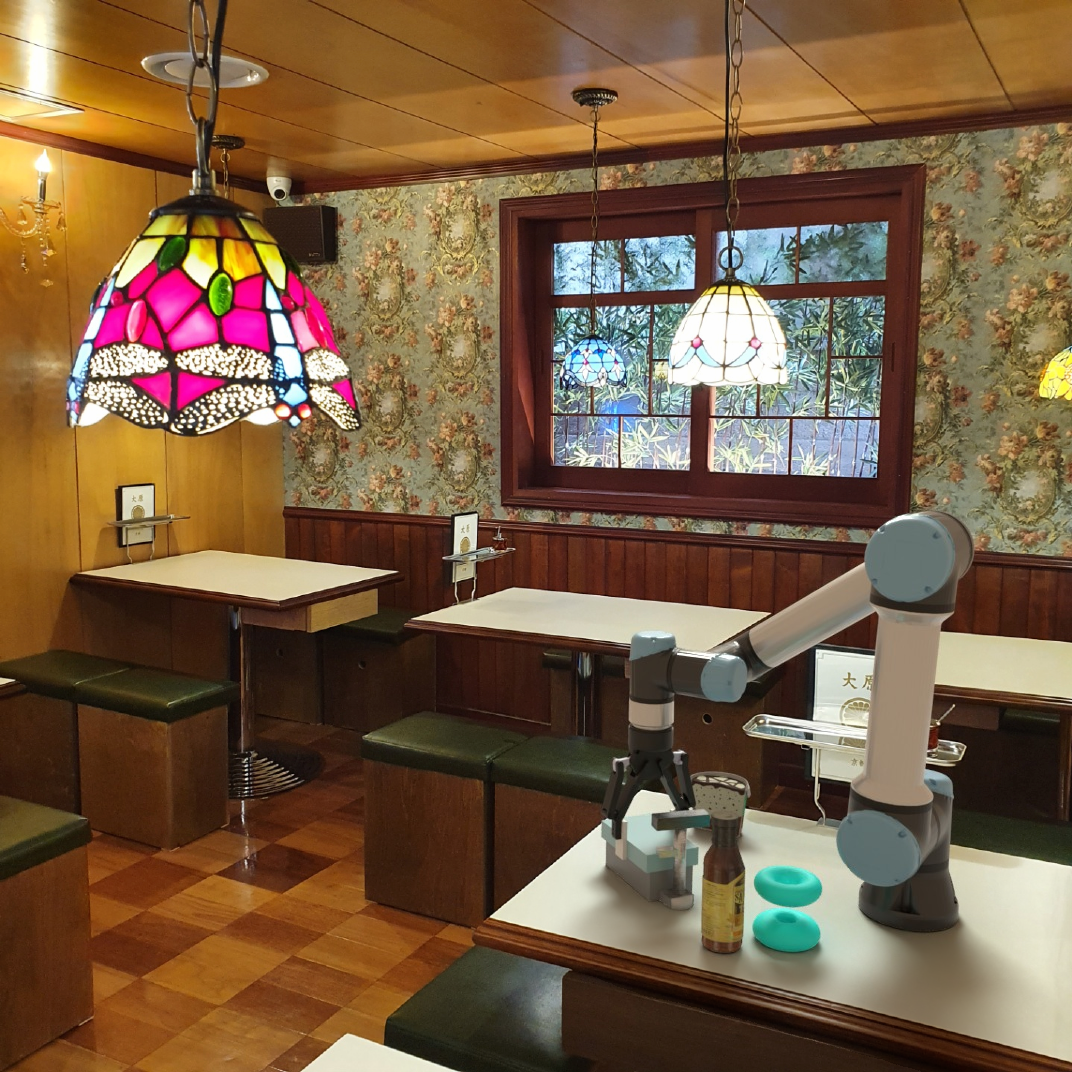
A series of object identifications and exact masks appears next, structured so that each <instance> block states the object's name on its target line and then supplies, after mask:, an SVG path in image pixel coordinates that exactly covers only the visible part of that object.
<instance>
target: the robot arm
mask: <svg viewBox="0 0 1072 1072" xmlns="http://www.w3.org/2000/svg"><path fill="white" fill-rule="evenodd" d="M974 556H975V541H974V537H973V535H972V533H971V531H970V529H969V527H968V526H967V525H966V524H965V522H963V520H961V519H960V518H958V517H957V516H956V515H953V514H952V513H950V512H946V511H942V510H938V509H937V510H924V511H919V512H917V513H906V514H901V515H898V516H896V517H894V518H891V519H890V520H888V521H886V522H885V523H884V524H883V525H881V526H880V527H878V529H877V530H876V531H875V532H873V534H872V536H871V537H870V539H869V541H868V543H867V544H866V547H865V552H864V562H863V563H861V564H859V565H857V566H856V567H854V568H852V569H850V570H849V571H847V572H845V573H844V574H842V575H839V576H838V577H837V578H835V579H833V580H832V581H830V582H828V583H826V584H825V585H823V586H822V587H820V588H819V589H817V590H814V591H813V592H811V593H810V594H808V595H806V596H805V597H803V598H802V599H799V600H798V601H796V602H795V603H793V604H790V605H789V606H788V607H786V608H784V609H783V610H781V611H779V612H778V613H776V614H774V615H773V616H771V617H769V618H768V619H766V620H764V621H762V622H761V623H759V624H757V625H755V626H754V627H752V628H751V629H748V630H747V631H745V632H743V633H741V634H740V635H738V636H736V637H735V638H733V639H732V640H730V641H727V642H725V643H723V644H720V645H718V646H715V647H711V648H710V649H707V650H697V649H695V650H694V649H686V648H681V647H677V640H676V637H675V635H674V634H673V633H670V632H667V631H660V630H643V631H639V632H636V633H635V634H634V635H633V636H632V637H631V639H630V651H629V658H628V661H629V694H628V695H629V697H628V698H629V699H628V700H629V701H628V721H629V722H630V723H629V725H628V731H627V732H628V736H627V739H628V740H627V745H628V752H627V754H626V756H625V757H622V758H617V757H612V758H611V759H610V771H611V772H610V774H609V775H610V776H609V779H608V783H607V787H606V790H605V794H604V798H603V802H602V805H601V810H600V814H601V815H602V816H604V817H605V818H606V819H607V820H608V819H609V820H612V832H611V834H612V837H613V838H614V839H616V849H615V854H616V855H617V856H618V857H620V858H621V859H622V860H626V859H627V821H626V820H624V817H626V814H627V812H628V810H629V808H630V807H631V804H632V803H633V801H634V798H635V796H636V794H637V792H638V790H639V788H640V787H641V786H643V784H644V781H650V780H653V779H656V780H660V782H661V783H662V786H663V787H664V789H665V791H666V794H667V796H668V797H669V799H670V801H671V803H672V805H673V807H674V808H671V809H669V812H675V811H687V810H690V809H692V808H694V807H695V806H696V800H695V796H694V791H693V787H692V782H691V778H690V776H691V774H690V770H689V769H690V768H689V762H690V761H689V759H690V755H689V754H688V752H686V751H684V750H681V749H677V750H676V751H673V747H674V726H673V723H674V722H675V721H674V719H675V695H683V696H686V697H687V696H688V697H694V698H699V699H705V700H710V701H713V702H718V703H719V702H725V703H726V702H727V703H735V702H738V700H740V699H741V697H742V695H743V694H744V693H745V691H746V687H747V683H750V682H753V681H755V680H757V679H759V678H760V677H762V676H763V675H764V674H766V673H767V672H769V671H771V670H772V669H774V668H775V667H776V668H777V667H778V666H780V665H782V664H783V663H785V662H787V661H789V660H791V659H792V658H794V657H796V656H798V655H799V654H800V653H803V652H805V651H806V650H808V649H810V648H812V647H814V646H816V645H817V644H819V643H821V642H823V641H825V640H826V639H828V638H830V637H832V636H833V635H836V634H837V633H839V632H842V631H843V630H844V629H846V628H848V627H850V626H852V625H854V624H856V623H857V622H859V621H861V620H863V619H864V618H866V617H868V616H870V615H871V614H874V613H875V612H876V613H877V615H878V620H877V621H878V622H877V623H878V624H877V629H876V630H877V631H876V638H875V639H876V641H875V649H874V650H875V651H874V660H873V669H872V681H871V690H870V697H869V698H870V699H869V709H868V710H869V711H868V720H867V727H866V739H865V746H864V757H863V767H862V772H861V773H860V774H858V775H856V776H855V777H854V778H853V779H851V783H850V789H849V799H848V805H847V806H848V808H847V815H846V816H845V817H843V818H842V820H841V822H840V823H839V827H838V829H837V832H836V836H835V837H836V841H835V842H836V847H837V851H838V855H839V857H840V859H841V861H842V863H843V864H844V865H845V866H846V867H847V869H848V870H849V871H850V872H851V873H852V874H853V875H854V876H855V877H857V878H858V879H860V880H862V881H863V882H862V883H861V885H860V887H859V892H858V902H857V904H858V907H859V909H860V911H861V912H862V913H863V914H865V915H866V916H867V917H868V918H869V919H871V920H874V921H875V922H877V923H880V924H883V925H885V926H888V927H891V928H896V929H899V930H905V931H911V932H924V933H925V932H939V931H944V930H947V929H949V928H952V927H953V926H954V925H956V923H957V922H958V920H959V910H960V909H959V908H960V907H959V906H960V905H959V901H958V897H957V896H956V891H955V887H954V883H953V879H952V876H951V873H950V854H951V853H950V852H951V851H950V850H951V849H950V848H951V831H952V815H953V813H952V812H953V800H954V797H955V796H954V793H953V792H954V791H953V789H954V788H953V786H954V785H953V782H952V780H951V779H950V777H948V776H947V775H946V774H944V773H941V772H938V771H935V770H930V769H926V764H927V756H928V748H929V747H928V746H929V738H930V730H931V719H932V711H933V701H934V692H935V685H936V684H935V682H936V674H937V664H938V655H939V649H940V647H939V646H940V638H941V630H942V629H941V628H942V624H943V622H944V621H946V620H947V619H948V618H949V617H951V616H952V615H953V614H954V613H955V608H956V597H957V589H958V583H959V580H961V578H963V577H964V576H965V574H967V572H969V569H970V567H971V566H972V563H973V560H974ZM672 762H673V763H674V766H675V771H676V776H677V780H678V785H679V788H680V789H678V788H677V785H676V783H675V781H674V780H673V776H672V773H671V771H670V769H669V767H670V765H671V764H672ZM628 766H629V771H628V770H627V767H628ZM627 771H628V774H627V775H626V780H625V783H624V785H623V782H624V777H625V772H627ZM622 785H623V787H622ZM679 790H680V792H679Z"/></svg>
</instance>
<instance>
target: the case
mask: <svg viewBox="0 0 1072 1072" xmlns="http://www.w3.org/2000/svg"><path fill="white" fill-rule="evenodd" d="M615 849H616V848H614V847H613V846H612V845H611V844H609V843H608V842H607V841H606V840H605V866H607V867H608V868H609V869H610V870H611V871H613V872H614V873H615V874H616V875H617V874H618V875H617V876H618V877H619V878H620V879H623V881H624V882H626V883H627V884H628V885H629V886H630V887H632V888H633V890H635V891H637V892H638V893H639V894H640V895H641V896H642V897H643V898H645V900H646V901H648V902H655V901H660V902H661V903H662V904H663V905H665V907H668V909H672V910H675V911H683V910H685V911H686V910H689V909H690V908H692V907H693V905H694V904H695V902H694V901H695V898H694V897H695V894H693V877H694V876H693V874H694V873H693V872H694V865H693V866H687V867H686V879H685V894H682V895H678V894H674V893H673V869H669V870H663V871H657V872H651V873H646V872H644V871H643V870H642V869H641V868H639V867H638V866H637V865H636V864H634V863H633V862H632V861H631V860H629V859H628V858H627V859H626V860H622V859H621V858H620V857H618V856H617V855H616V854H615Z"/></svg>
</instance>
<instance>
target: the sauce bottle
mask: <svg viewBox="0 0 1072 1072" xmlns="http://www.w3.org/2000/svg"><path fill="white" fill-rule="evenodd" d="M711 824H712V831H711V841H710V842H711V845H710V846H709V848H708V849H707V851H706V852H705V855H704V856H703V863H702V865H703V870H702V878H701V879H702V880H701V883H702V884H701V885H702V886H701V919H700V923H701V924H700V925H701V927H700V932H701V943H702V945H703V947H705V948H706V949H708V950H710V951H712V952H714V953H721V954H729V953H734V952H737V951H739V950H740V949H741V948H742V945H743V938H744V930H745V929H744V927H745V921H744V920H745V898H746V897H745V894H746V893H745V891H746V886H745V885H746V866H745V864H744V861H743V860H744V859H743V858H742V855H741V850H740V848H739V845H738V842H739V840H738V837H737V833H738V831H737V827H738V825H739V816H738V815H737V814H736V813H733V812H729V811H717V812H713V813H712V815H711Z"/></svg>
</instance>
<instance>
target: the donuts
mask: <svg viewBox="0 0 1072 1072" xmlns="http://www.w3.org/2000/svg"><path fill="white" fill-rule="evenodd" d="M753 885H754V890H755V891H756V893H757V895H758V896H760V897H761V898H762V899H764V900H765V901H767V902H768V903H770V904H772V905H776V906H780V907H778V908H777V907H775V908H770V909H767V910H764V911H762V912H760V913H758V915H756V917H755V918H754V920H753V923H752V925H751V926H752V928H751V929H752V933H753V935H754V937H755V938H756V939H757V940H758V941H759V942H760V943H761V944H763V945H764V946H765V947H768V948H770V949H772V950H776V951H780V952H787V953H789V952H790V953H796V952H797V953H799V952H805V951H808V950H810V949H813V948H814V947H815V946H816V945H817V944H818V943H819V942H820V939H821V929H820V926H819V925H818V923H817V921H815V919H813V918H812V917H811V916H810V915H808V914H806V913H805V912H802V911H799V910H797V909H792V908H803V907H806V906H810V905H812V904H814V903H815V902H817V901H818V900H819V899H820V897H822V893H823V885H822V882H821V880H820V879H819V877H817V875H816V874H814V873H813V872H811V871H809V870H807V869H804V868H801V867H796V866H792V865H783V864H782V865H771V866H767V867H764V868H762V869H761V870H759V871H758V872H757V873H756V875H755V876H754V878H753Z"/></svg>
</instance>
